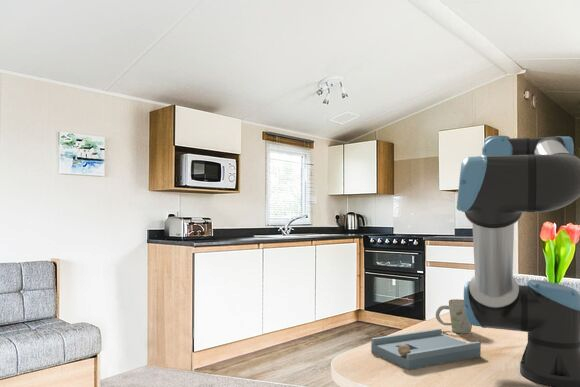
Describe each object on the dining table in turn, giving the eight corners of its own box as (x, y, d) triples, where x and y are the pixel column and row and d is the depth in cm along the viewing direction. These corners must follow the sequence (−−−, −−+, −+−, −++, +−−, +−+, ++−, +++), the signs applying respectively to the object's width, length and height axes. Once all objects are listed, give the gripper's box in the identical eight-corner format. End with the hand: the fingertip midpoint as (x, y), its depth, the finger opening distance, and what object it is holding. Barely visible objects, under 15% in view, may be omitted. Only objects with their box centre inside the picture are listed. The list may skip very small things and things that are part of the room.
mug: (476, 335, 155) (476, 305, 155) (436, 333, 157) (437, 302, 157) (472, 329, 163) (472, 300, 163) (434, 326, 165) (434, 298, 166)
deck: (480, 356, 133) (480, 342, 133) (408, 370, 122) (409, 354, 122) (439, 341, 148) (439, 328, 148) (371, 352, 136) (371, 338, 136)
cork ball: (413, 357, 124) (413, 345, 124) (403, 359, 123) (403, 346, 123) (404, 353, 127) (405, 341, 127) (395, 355, 125) (395, 343, 125)
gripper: (501, 188, 148) (501, 264, 147) (471, 187, 142) (470, 266, 141) (522, 188, 141) (522, 267, 140) (492, 187, 135) (491, 269, 135)
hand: (496, 266), depth 141 cm, fingers closed
